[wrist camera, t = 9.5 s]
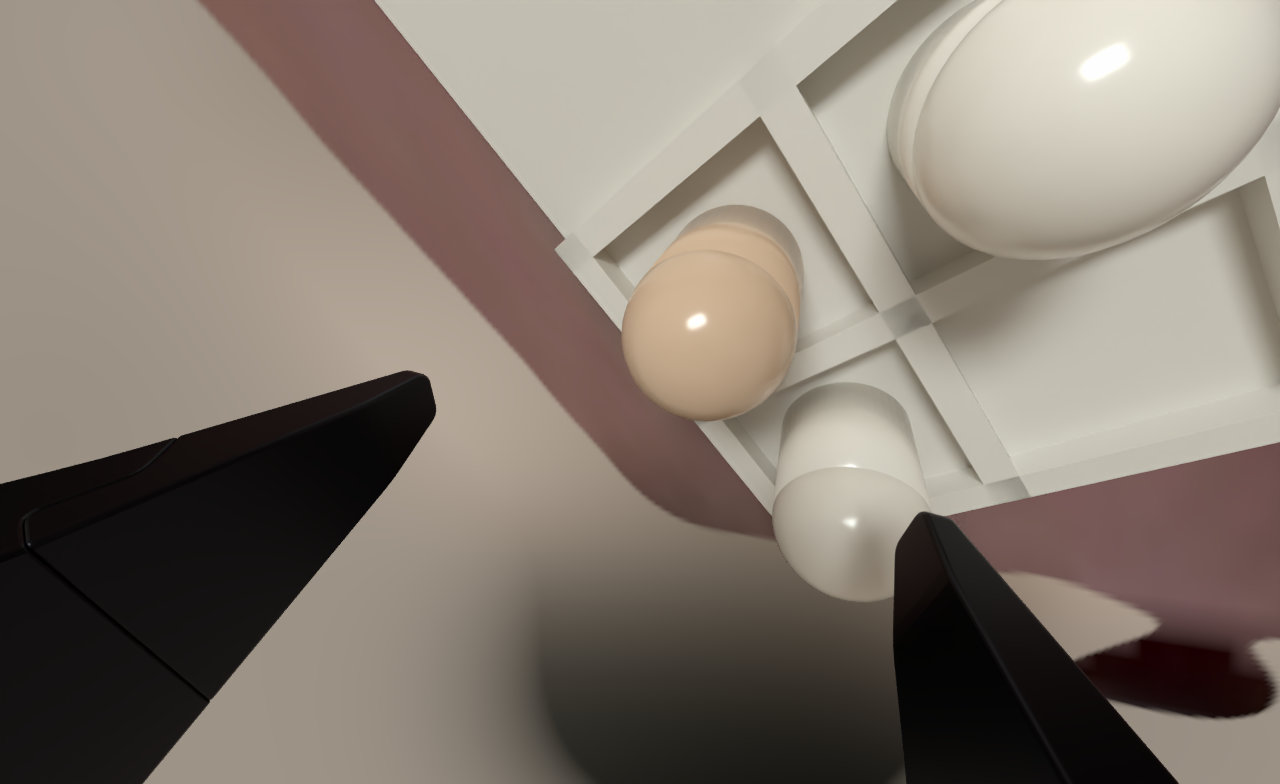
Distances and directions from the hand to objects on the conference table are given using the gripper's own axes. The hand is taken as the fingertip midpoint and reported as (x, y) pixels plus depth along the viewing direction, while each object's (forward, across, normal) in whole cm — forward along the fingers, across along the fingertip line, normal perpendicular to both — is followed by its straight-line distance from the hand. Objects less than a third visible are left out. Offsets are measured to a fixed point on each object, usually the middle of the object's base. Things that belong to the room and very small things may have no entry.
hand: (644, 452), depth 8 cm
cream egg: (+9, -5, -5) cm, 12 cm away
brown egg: (+9, 0, 0) cm, 9 cm away
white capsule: (+9, -5, +5) cm, 12 cm away
